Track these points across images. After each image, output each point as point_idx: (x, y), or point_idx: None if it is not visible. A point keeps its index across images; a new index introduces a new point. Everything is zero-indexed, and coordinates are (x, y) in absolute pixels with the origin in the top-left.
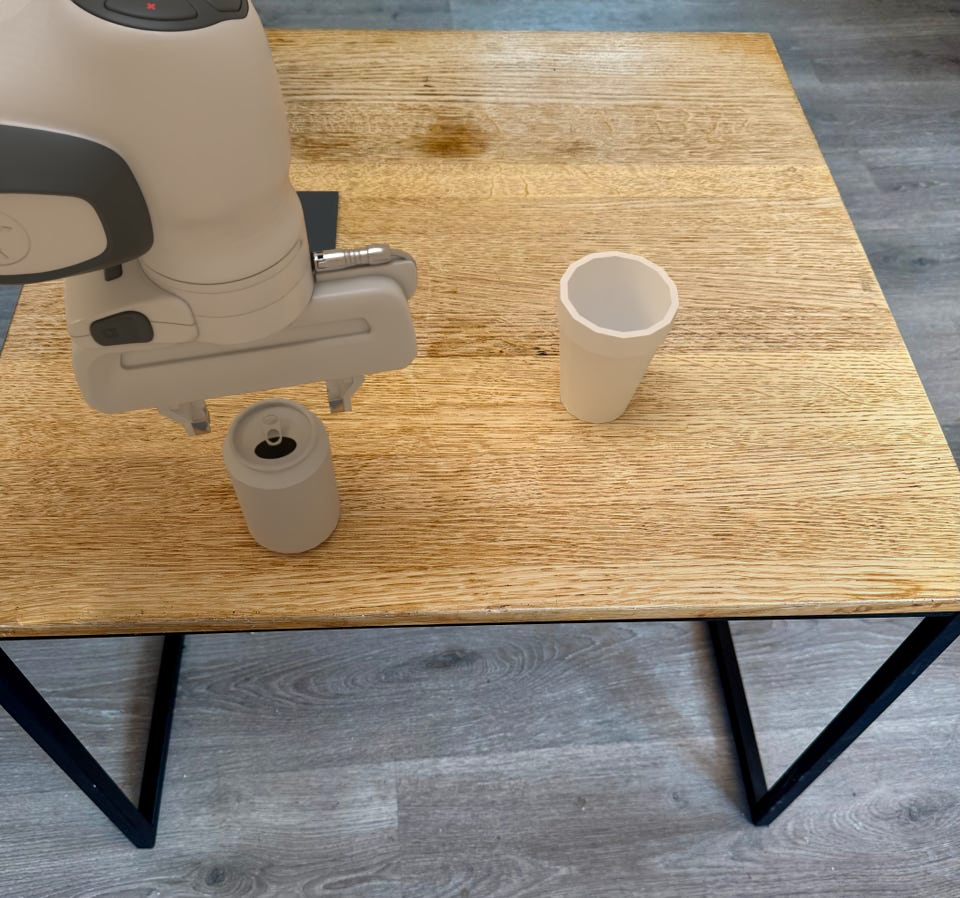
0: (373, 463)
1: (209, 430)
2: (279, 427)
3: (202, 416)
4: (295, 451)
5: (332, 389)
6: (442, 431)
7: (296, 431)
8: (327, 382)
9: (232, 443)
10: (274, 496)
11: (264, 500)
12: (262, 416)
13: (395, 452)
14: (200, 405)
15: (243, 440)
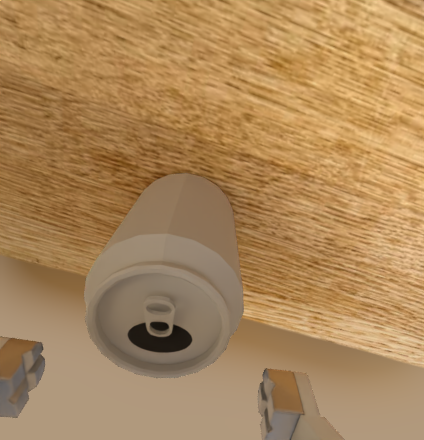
0: (285, 179)
1: (36, 385)
2: (171, 320)
3: (9, 410)
4: (187, 349)
5: (280, 431)
6: (380, 163)
7: (197, 323)
8: (277, 413)
9: (92, 329)
10: (151, 343)
11: (140, 330)
12: (146, 302)
13: (315, 173)
14: (2, 390)
15: (112, 313)
